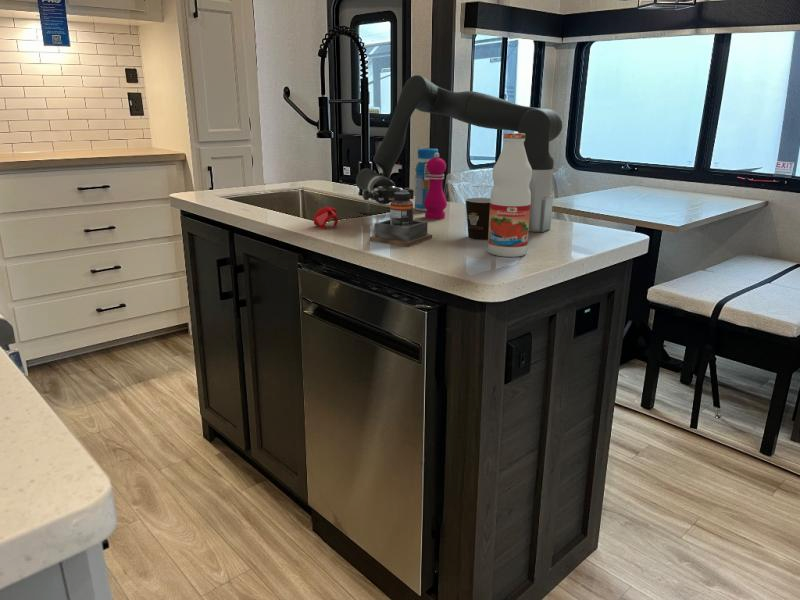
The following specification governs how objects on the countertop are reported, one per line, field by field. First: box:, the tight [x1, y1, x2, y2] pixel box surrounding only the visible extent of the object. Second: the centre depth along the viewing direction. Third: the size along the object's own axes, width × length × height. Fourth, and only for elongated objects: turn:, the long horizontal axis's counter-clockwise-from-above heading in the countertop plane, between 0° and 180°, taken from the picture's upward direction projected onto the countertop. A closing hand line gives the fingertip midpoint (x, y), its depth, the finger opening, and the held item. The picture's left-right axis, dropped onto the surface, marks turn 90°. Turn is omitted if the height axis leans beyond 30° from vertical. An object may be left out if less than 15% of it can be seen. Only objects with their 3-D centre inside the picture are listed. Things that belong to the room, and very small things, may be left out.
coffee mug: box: [465, 197, 491, 241], centre depth 163 cm, size 12×9×10 cm
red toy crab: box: [313, 206, 339, 229], centre depth 176 cm, size 8×6×6 cm
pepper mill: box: [424, 152, 448, 220], centre depth 191 cm, size 7×7×20 cm
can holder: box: [369, 219, 433, 248], centre depth 161 cm, size 12×12×4 cm
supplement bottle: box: [389, 192, 414, 227], centre depth 160 cm, size 6×6×11 cm
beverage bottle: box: [414, 147, 439, 212], centre depth 205 cm, size 8×8×20 cm
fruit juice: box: [487, 132, 532, 258], centre depth 144 cm, size 9×9×28 cm
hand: (392, 197), depth 169 cm, fingers open, 8 cm apart
